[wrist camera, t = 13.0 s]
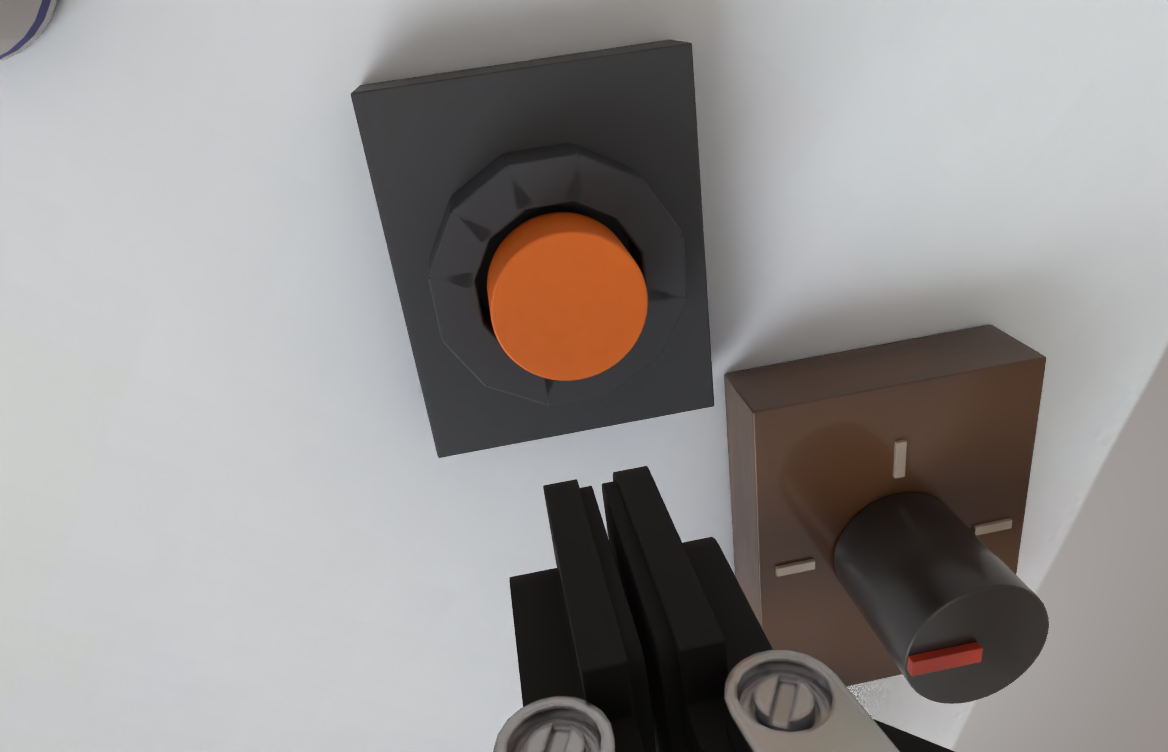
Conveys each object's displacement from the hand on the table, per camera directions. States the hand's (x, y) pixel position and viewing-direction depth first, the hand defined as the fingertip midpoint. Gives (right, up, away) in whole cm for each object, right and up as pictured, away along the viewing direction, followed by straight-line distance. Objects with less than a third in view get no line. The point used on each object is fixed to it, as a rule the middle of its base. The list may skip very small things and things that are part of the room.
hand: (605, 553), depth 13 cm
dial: (+11, -3, +16) cm, 19 cm away
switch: (-1, +5, +9) cm, 11 cm away
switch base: (-2, +7, +12) cm, 14 cm away
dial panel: (+10, -2, +19) cm, 21 cm away
